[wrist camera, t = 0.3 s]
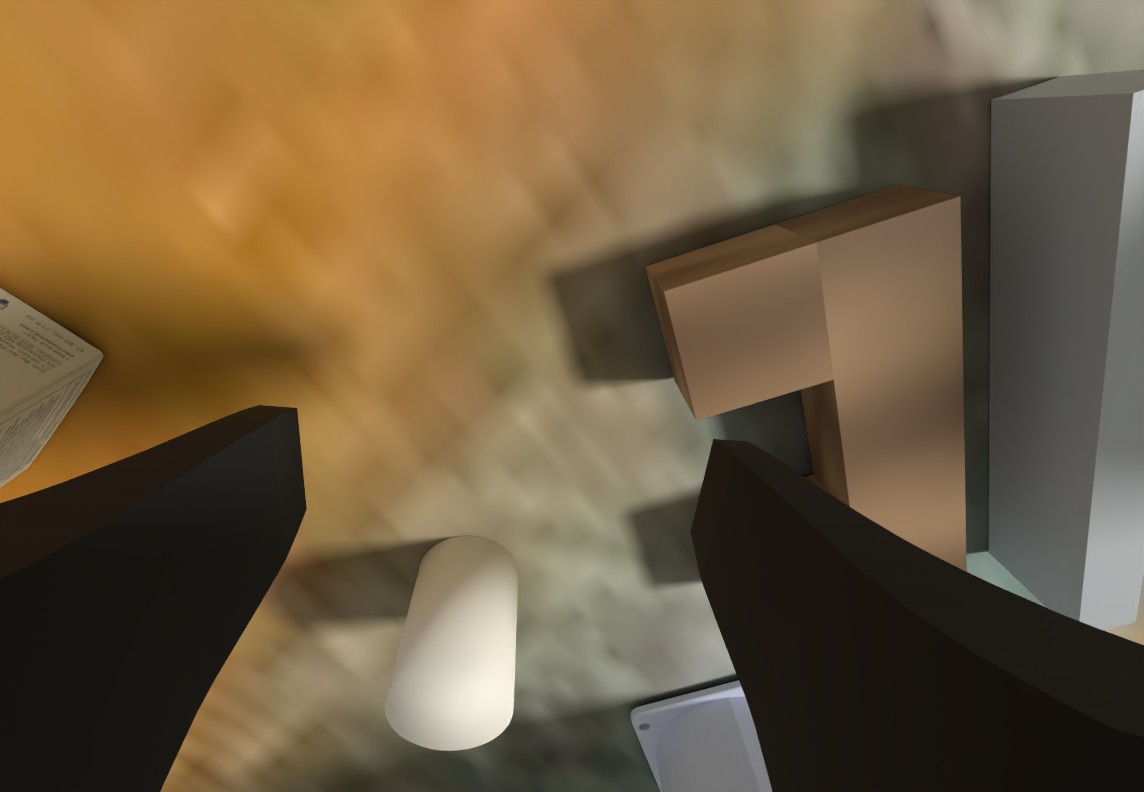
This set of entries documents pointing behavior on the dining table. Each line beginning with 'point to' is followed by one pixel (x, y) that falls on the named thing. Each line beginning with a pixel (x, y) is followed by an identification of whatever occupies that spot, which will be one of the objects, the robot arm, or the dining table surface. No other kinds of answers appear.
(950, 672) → the robot arm
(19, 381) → the skincare box
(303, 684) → the dining table surface
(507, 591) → the dowel
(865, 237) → the block
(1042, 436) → the wall
